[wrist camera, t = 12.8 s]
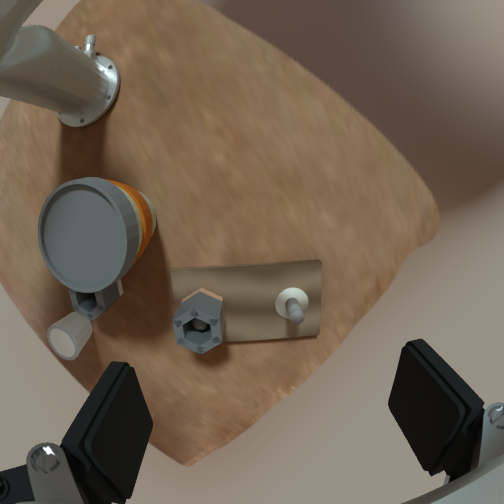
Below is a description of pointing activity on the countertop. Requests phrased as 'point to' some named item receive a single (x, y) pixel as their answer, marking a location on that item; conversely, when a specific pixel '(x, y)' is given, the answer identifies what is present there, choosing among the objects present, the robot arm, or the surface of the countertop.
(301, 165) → the countertop surface
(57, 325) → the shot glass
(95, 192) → the reusable coffee cup
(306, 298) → the pin board
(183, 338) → the terracotta-banded sleeve
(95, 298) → the cream-banded sleeve
